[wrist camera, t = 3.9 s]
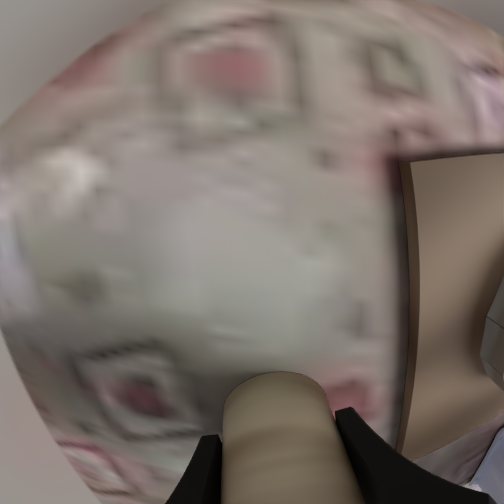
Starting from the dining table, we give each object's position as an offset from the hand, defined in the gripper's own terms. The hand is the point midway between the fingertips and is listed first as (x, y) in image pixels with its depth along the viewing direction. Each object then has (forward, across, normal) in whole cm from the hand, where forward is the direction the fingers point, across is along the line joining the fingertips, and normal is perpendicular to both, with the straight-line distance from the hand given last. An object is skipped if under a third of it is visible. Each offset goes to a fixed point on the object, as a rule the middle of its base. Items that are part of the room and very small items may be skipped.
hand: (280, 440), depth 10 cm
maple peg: (+2, 0, 0) cm, 2 cm away
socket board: (+2, -14, -1) cm, 14 cm away
